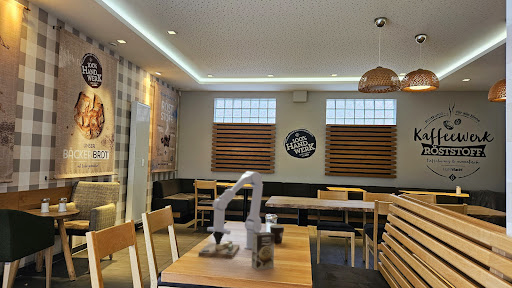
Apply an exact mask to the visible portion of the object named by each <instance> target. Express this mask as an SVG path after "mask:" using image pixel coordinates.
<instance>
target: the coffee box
mask: <svg viewBox="0 0 512 288" xmlns="http://www.w3.org/2000/svg"><path fill="white" fill-rule="evenodd" d="M274 237H275V234H273V233H271V232H269V231H263V232H261V231H260V233H253V246H252V249H251V250H252V251H251V255H252V256H251V267H252V268H254V269H255V270H257V271H258V270H267V269H268V270H269V269H274V266H275V265H274V264H275V263H274V262H275V244H274Z"/></svg>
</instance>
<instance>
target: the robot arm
mask: <svg viewBox="0 0 512 288" xmlns="http://www.w3.org/2000/svg"><path fill="white" fill-rule="evenodd" d="M262 178H263V177H262V175H261V174H260V172H258V171H250V170H247V171H245V172H244V173H243V174H242V175H241V177H240V178H239V179H238V180H237V181H236V183H235V184H234V185H233V186H232V187H231V188H227V189H225V190H224V192H223V193H222V194H221V195H219V196H218V198H215V199H214V201H213V202H212V208H213V226H208V227H207V228H206V231H207V232H212V236H213V238H214V240H215V243H216V245H217V244H221V243H222V242H221V241H222V238H223V237H224V235H231V232H232V231H231V230H229V229H226V228H225V216H226V215H225V212H226V209H227V207H228V204H229V203H230V202H231V201H232V200H233V199H234V198H235V197H236V193H237V192H238V191H239V190H240V189H241V188H242V187H244V186H245V185H248V184H250V186H251V187H252V188H253V189H252V195H251V203H250V209H249V215H248V216H247V217H246V220H245V222H244V228H245V229H246V241H245V242H246V245H245V246H244V249H247V250H248V249H249V250H252V246H253V233H261V231H262V228H263V226H262V218H261V217H260V211H261V210H260V209H261V203H262V197H263V189H264V188H263V187H264V184H263V181H262Z"/></svg>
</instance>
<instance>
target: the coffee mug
mask: <svg viewBox="0 0 512 288" xmlns="http://www.w3.org/2000/svg"><path fill="white" fill-rule="evenodd" d="M269 231H270V233H273V234H275V237H274V245H279V244H282V243H283V235H284V231H285V226H284V225H281V224H271V225H270V226H269Z"/></svg>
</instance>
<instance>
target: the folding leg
mask: <svg viewBox="0 0 512 288" xmlns="http://www.w3.org/2000/svg"><path fill="white" fill-rule="evenodd" d="M230 244H233V241H232V240H227V241H224V242H220V244H217V245H215V250H221V249H224V248H227V247H228V246H229V245H230Z"/></svg>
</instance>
